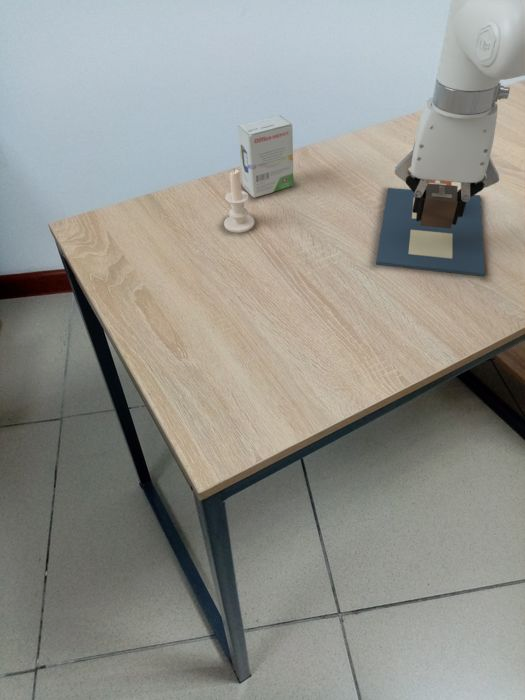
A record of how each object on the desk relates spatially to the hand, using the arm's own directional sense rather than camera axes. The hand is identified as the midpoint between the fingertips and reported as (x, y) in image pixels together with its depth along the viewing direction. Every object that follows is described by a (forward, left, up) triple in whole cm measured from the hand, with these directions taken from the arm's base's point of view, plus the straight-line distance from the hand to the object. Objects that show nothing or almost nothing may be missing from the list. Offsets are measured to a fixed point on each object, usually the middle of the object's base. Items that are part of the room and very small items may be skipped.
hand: (436, 216), depth 81 cm
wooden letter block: (0, 0, 0) cm, 0 cm away
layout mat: (0, -5, -6) cm, 7 cm away
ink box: (+30, -14, -6) cm, 33 cm away
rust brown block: (0, -10, -5) cm, 11 cm away
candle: (+32, -1, -6) cm, 32 cm away
